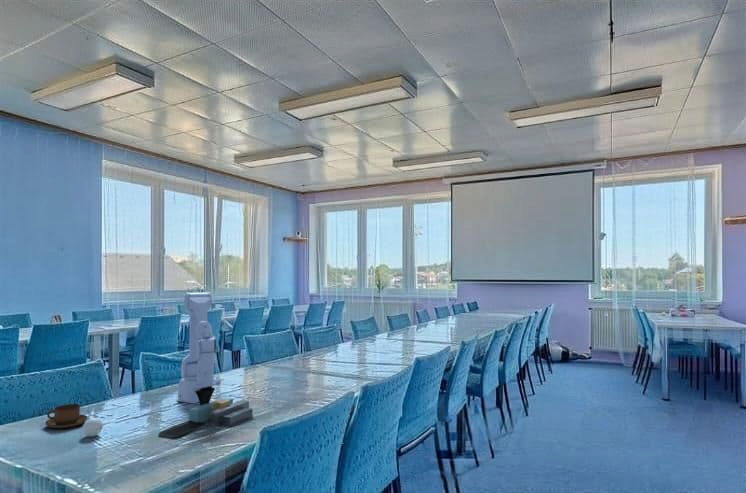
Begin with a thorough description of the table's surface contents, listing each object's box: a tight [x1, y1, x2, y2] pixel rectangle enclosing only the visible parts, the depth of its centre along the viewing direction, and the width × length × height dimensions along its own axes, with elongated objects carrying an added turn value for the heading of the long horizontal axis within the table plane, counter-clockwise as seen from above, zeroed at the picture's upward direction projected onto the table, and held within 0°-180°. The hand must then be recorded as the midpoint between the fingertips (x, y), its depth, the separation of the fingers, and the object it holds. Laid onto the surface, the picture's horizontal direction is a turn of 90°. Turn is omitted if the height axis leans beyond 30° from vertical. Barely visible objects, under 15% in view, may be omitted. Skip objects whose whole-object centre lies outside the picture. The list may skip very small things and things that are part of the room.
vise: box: [207, 399, 254, 428], centre depth 171 cm, size 7×18×4 cm, turn 156°
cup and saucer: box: [45, 403, 88, 429], centre depth 163 cm, size 12×12×6 cm
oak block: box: [211, 398, 230, 411], centre depth 173 cm, size 4×4×6 cm
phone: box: [158, 420, 208, 440], centre depth 159 cm, size 8×1×15 cm
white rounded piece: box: [81, 417, 103, 438], centre depth 153 cm, size 8×6×6 cm
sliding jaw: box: [188, 397, 234, 422], centre depth 175 cm, size 4×18×4 cm, turn 156°
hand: (204, 408), depth 177 cm, fingers closed, pressing on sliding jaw
